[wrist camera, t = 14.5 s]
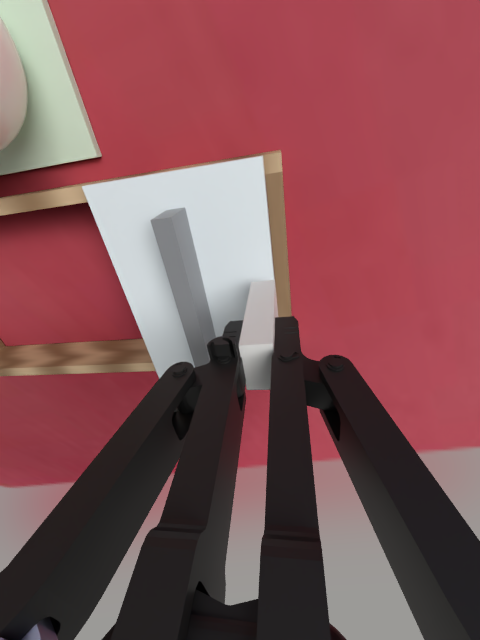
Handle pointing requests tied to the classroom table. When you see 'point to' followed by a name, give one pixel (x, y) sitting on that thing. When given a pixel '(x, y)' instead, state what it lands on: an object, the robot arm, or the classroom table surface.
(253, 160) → the lid
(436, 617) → the robot arm
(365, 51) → the classroom table surface
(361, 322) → the classroom table surface
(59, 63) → the mat
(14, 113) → the lidded jar
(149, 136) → the classroom table surface
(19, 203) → the wooden rectangular frame
